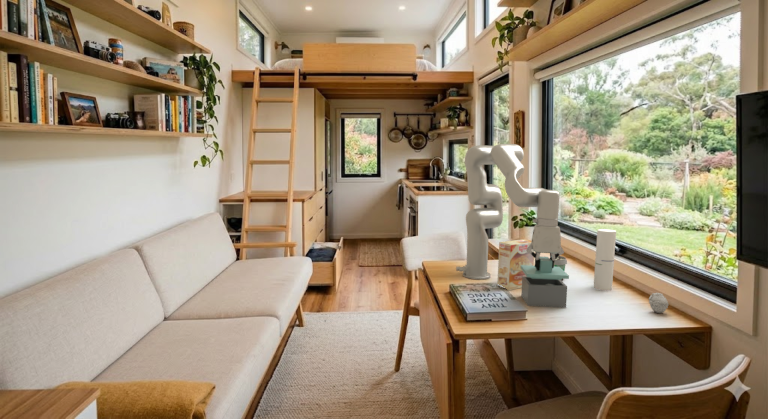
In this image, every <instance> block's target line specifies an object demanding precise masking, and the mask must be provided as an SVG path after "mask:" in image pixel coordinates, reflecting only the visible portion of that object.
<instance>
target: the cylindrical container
mask: <svg viewBox="0 0 768 419" xmlns="http://www.w3.org/2000/svg"><path fill="white" fill-rule="evenodd" d="M596 230H597V232H596V233H597V234H596V243H595V244H596V247H595V259H594V260H595V262H594V275H593V288H594V289H596V290H598V291H604V292H605V291H607V292H608V291H612V290H613V278H614V277H613V276H614V266H615V250H616V239H617V230H614V229H609V228H600V229H596Z"/></svg>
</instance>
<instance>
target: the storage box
mask: <svg viewBox="0 0 768 419" xmlns="http://www.w3.org/2000/svg"><path fill="white" fill-rule="evenodd" d="M567 297H568V286H567V284H565V283H564V281H561V280H554V279H532V278H530V277H523V276H522V288H521V298H522V300H523V301H524V302H525V304H526V306H528V307H531V306H532V307H550V308H551V307H552V308H567V301H568V300H567Z"/></svg>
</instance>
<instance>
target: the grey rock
mask: <svg viewBox="0 0 768 419" xmlns="http://www.w3.org/2000/svg"><path fill="white" fill-rule="evenodd" d="M648 303H649V306H650V308H651V310H652V311H653V312H655V313H658V314H661V313H662V314H663V313H665V312H666V310H667V309H668V308H669V307H668V306H669V302H668V300H667V298H666V297H665V296H664V294H663V293H661V292H655V293H653V292H652V293H651V294H650V296H649V298H648Z"/></svg>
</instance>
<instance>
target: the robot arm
mask: <svg viewBox="0 0 768 419" xmlns="http://www.w3.org/2000/svg"><path fill="white" fill-rule="evenodd" d="M524 157H525V154H524V150H523V148H522V147H521V146H520V145H519V144H515V143H499V144H496V145H483V144H482V145H481V144H480V145H474V146H471V147H470V148H469V149H467V151H466V153H465V157H464V165H465V170H466V175H467V196H468V197H467V198H468V201H469V203H470V204H471V205H473V206H486V207H476V208H472V209H470V210H469V211H467V213H466V215H465V224H466V232H467V233H466V234H467V236H466V237H467V238H466V239H467V241H466V242H467V243H466V245H467V246H466V264H464V266H456V268H455V269H456V272H461V273H462V276H463V277H464V278H467V279H472V280H487V279H490V278H491V273H490V272H488V261H489V260H488V259H489V256H488V255H489V235H488V234H487V231H486V229H496V228H498V227H499V228H500V226H501V225H502V224H503V218H504V217H503V216H504V210H503V193H502V191H501V188H500V187H499V186H498V185H497V184H493V183H487V182H488V181H487V172H486V170H485V169H484V167H483V166H482V165H488V166H489V165H491V166H492V165H495V166H496V167H497V168H498V169H499V171H500V172H501V174H502V175H503V177H505V179H504V190H505V194H506V195H507V196H508V197H509V199H510V200H511V201H512V203H513V204H514V205H515V206H516V207H519V208H537V211H536V212H537V213H536V215H537V216H536V218H532V223H533V224H535V225H534V227H533V230H532V236H531V241H532V242H531V244H530V246H529V247H528V248H527V249H526V251H527V252H528V253H530V254H531V255H532V256H533V257H534V266H535V267H536V269H537V270H539V269H540V260H539V257H541V253H542V254H549V256H550V258H549V259H551V260H552V268H554V260H555V259H556V258H557V257H558V256H563V255H564V253H565V251H564V249H563V248H562V245H561V244H562V242H561V240H562V238H561V237H562V236H561V228H560V226H558V224H559V210H560V209H559V206H560V192H559V191H558V190H555V189H546V188H543V187H523V186H522V185H521V184H520V182H519V181H518V179H519V178H520V177H521V176H522V175H523V174H524V172H525V166H524V164H523V163H522V161H523V160H524ZM532 249H533V251H534V252H533V251H531V250H532Z"/></svg>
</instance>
